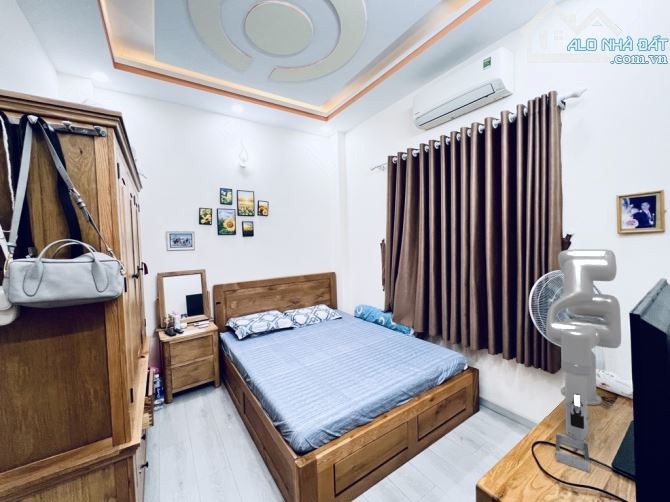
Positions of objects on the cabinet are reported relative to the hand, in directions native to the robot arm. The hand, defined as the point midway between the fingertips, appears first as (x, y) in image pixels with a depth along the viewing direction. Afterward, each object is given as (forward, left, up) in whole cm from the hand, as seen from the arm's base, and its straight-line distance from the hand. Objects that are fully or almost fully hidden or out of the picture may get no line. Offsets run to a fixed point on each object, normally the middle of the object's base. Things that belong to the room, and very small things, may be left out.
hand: (576, 419), depth 94 cm
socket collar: (+13, -1, -5) cm, 14 cm away
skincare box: (0, 0, -5) cm, 5 cm away
